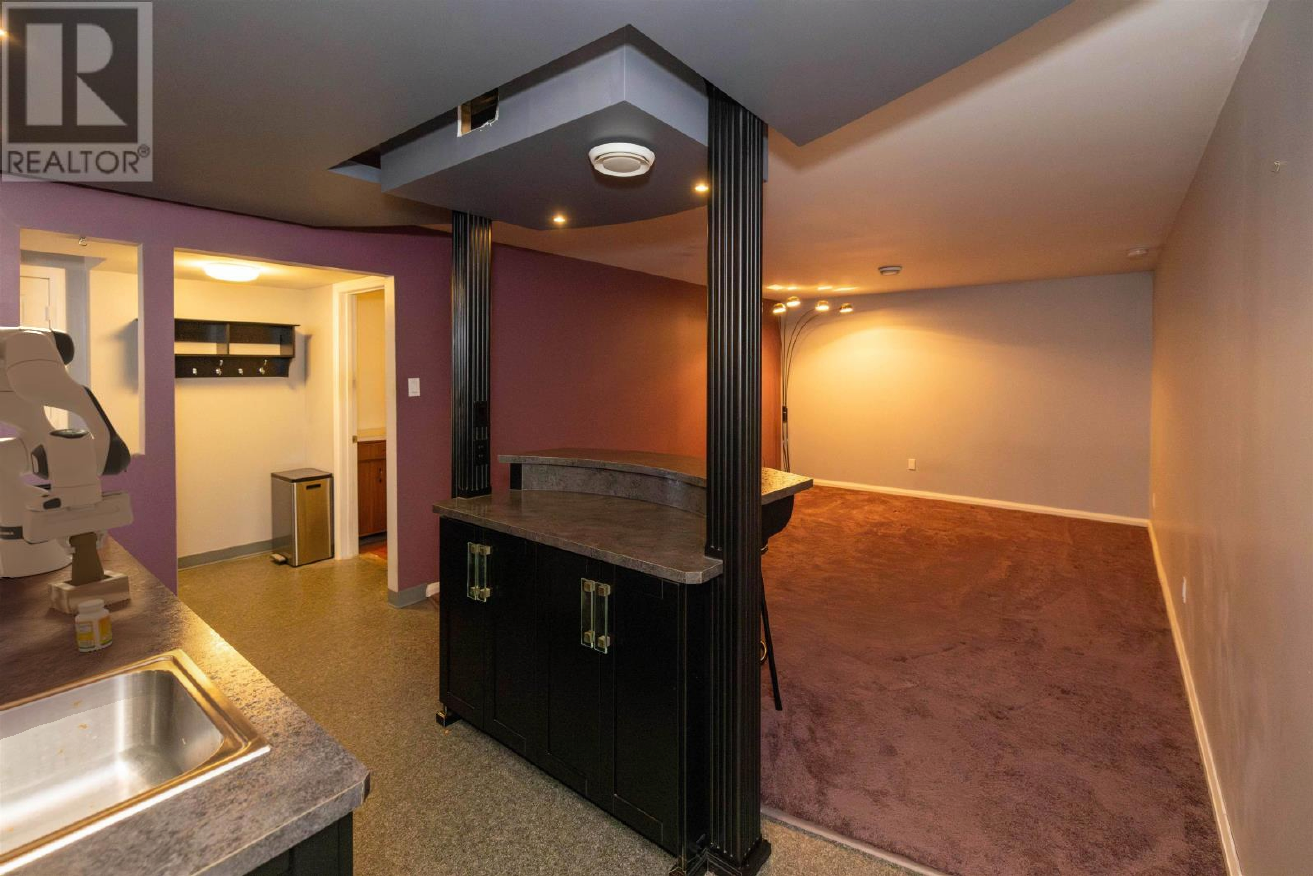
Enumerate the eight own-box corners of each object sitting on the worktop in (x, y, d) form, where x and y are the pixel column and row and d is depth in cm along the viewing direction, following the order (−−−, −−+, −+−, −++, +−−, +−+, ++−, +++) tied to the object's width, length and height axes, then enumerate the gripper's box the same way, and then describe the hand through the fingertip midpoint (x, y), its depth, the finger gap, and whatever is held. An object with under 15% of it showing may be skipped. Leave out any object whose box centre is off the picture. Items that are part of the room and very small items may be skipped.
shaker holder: (50, 607, 152) (47, 583, 151) (108, 591, 162) (105, 569, 161) (72, 615, 147) (69, 590, 146) (130, 598, 157) (127, 575, 156)
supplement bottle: (80, 655, 126) (74, 609, 125) (76, 647, 129) (70, 603, 128) (115, 645, 130) (110, 601, 129) (110, 638, 134) (105, 595, 132)
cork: (84, 580, 150) (78, 536, 149) (64, 579, 151) (58, 535, 150) (110, 572, 156) (105, 530, 154) (91, 571, 157) (86, 529, 156)
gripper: (122, 487, 162) (128, 538, 163) (15, 503, 144) (23, 561, 145) (135, 489, 159) (141, 541, 161) (27, 505, 141) (35, 564, 142)
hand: (84, 551), depth 153 cm, fingers closed on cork, 4 cm apart
